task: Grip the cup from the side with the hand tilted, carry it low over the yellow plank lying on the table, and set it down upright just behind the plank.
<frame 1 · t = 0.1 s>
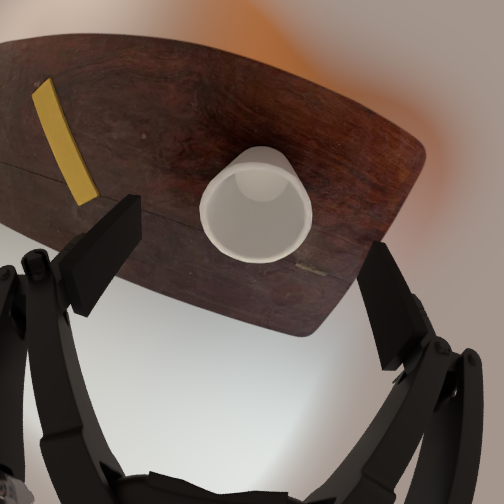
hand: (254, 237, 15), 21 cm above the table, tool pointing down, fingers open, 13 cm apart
cup: (262, 172, 34), on the table
yellow plank: (62, 141, 32), on the table
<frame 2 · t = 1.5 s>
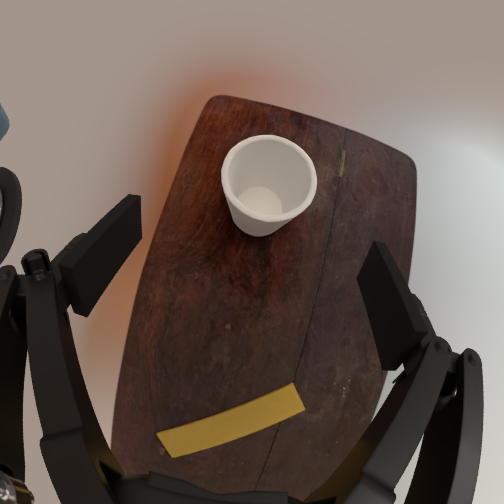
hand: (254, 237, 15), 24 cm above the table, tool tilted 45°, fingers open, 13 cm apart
cup: (257, 212, 40), on the table
yellow plank: (229, 424, 34), on the table
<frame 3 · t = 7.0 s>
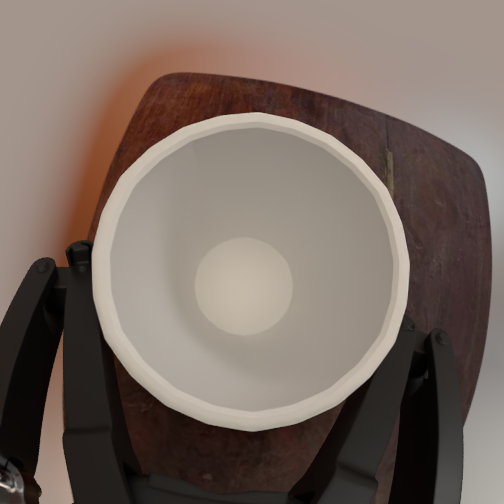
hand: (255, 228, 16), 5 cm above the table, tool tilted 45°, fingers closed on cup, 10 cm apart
cup: (243, 287, 20), on the table, touching gripper
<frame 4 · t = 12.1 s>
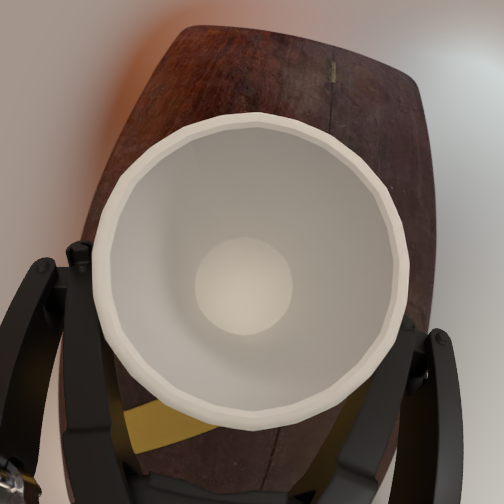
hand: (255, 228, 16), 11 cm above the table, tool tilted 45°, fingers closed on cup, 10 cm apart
cup: (243, 287, 20), point 6 cm above the table, touching gripper
yellow plank: (210, 403, 24), on the table
when the fingers open (5 cm above the table, at t = 17.3 s): cup stays where it is, on the table.
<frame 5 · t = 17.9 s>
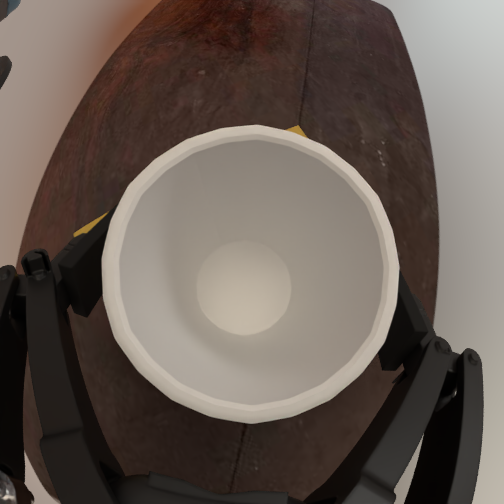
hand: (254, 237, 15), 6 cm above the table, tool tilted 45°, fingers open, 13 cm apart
cup: (243, 288, 21), on the table
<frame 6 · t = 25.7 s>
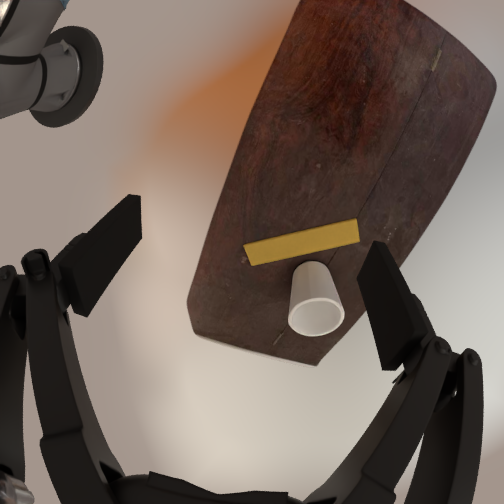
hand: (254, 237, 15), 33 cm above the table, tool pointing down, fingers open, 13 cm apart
cup: (310, 273, 57), on the table
yellow plank: (302, 241, 52), on the table
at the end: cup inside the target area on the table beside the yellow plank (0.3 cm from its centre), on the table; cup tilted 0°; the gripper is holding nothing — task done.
